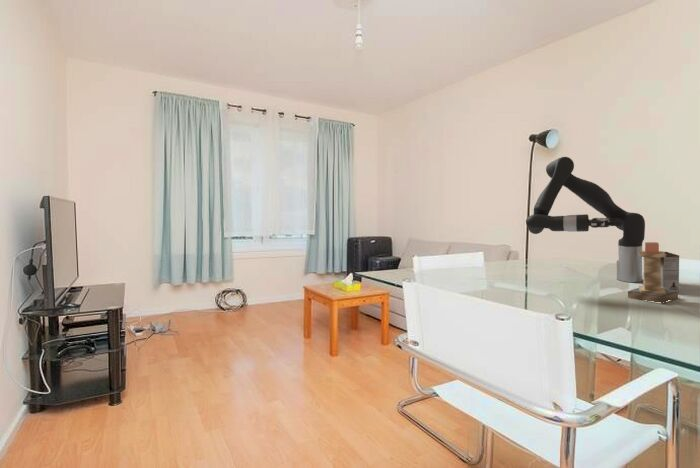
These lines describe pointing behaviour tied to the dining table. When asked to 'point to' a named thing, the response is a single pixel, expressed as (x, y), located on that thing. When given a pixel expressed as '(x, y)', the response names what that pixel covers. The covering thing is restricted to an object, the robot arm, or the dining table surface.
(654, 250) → the block
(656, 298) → the dock
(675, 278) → the coffee box
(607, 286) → the dining table surface
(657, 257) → the wooden pedestal
